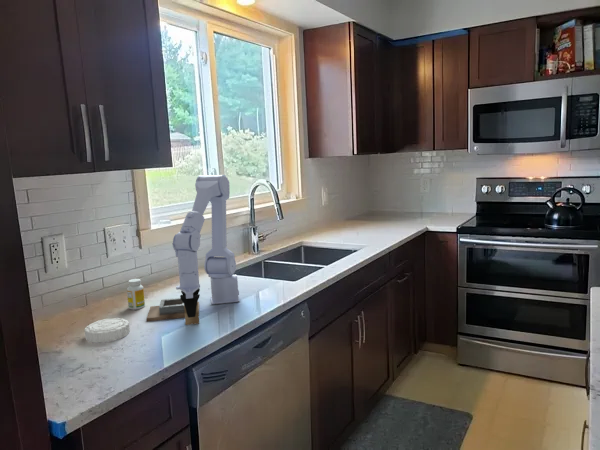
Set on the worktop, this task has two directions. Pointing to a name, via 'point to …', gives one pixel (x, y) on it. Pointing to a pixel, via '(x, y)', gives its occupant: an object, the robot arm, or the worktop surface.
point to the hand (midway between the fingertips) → (191, 314)
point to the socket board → (167, 310)
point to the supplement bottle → (135, 294)
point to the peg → (192, 319)
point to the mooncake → (107, 330)
